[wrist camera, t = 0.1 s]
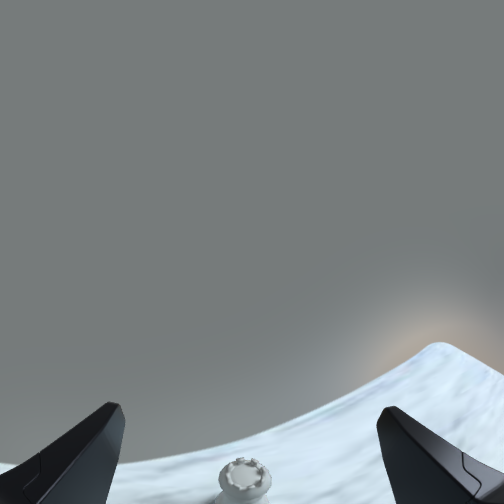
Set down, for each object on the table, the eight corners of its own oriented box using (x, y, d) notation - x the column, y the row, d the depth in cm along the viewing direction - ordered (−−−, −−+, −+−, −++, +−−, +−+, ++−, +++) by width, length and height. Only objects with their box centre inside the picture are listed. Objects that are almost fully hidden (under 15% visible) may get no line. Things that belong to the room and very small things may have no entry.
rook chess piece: (202, 511, 15) (191, 472, 12) (238, 482, 18) (241, 435, 16) (245, 541, 12) (251, 515, 10) (280, 508, 16) (298, 468, 13)
